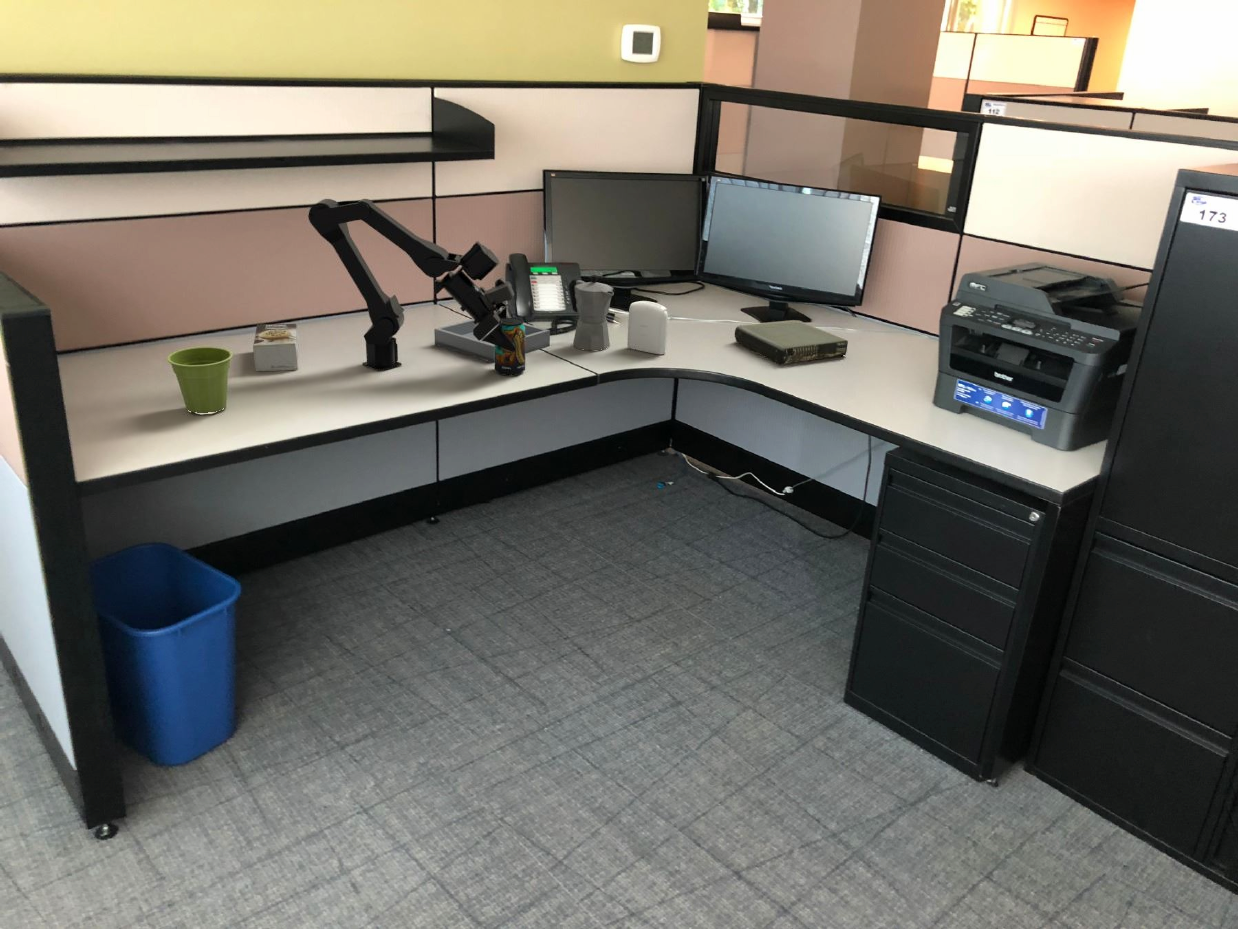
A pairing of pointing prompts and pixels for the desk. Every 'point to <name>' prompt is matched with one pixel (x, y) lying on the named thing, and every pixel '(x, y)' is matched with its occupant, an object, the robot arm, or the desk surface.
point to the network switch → (790, 341)
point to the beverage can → (509, 360)
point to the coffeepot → (591, 313)
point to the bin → (466, 343)
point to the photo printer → (647, 327)
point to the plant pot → (202, 377)
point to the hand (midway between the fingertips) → (516, 344)
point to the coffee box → (276, 347)
